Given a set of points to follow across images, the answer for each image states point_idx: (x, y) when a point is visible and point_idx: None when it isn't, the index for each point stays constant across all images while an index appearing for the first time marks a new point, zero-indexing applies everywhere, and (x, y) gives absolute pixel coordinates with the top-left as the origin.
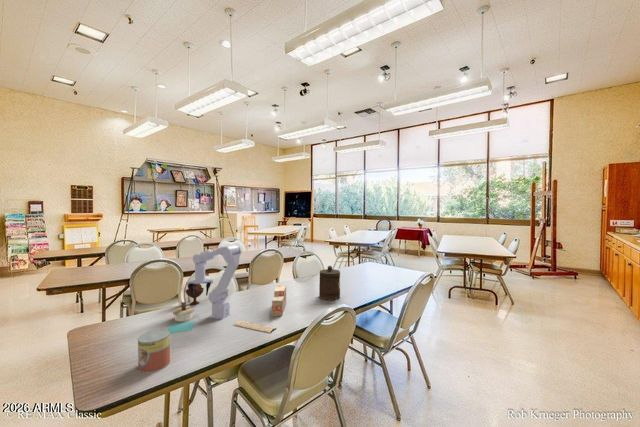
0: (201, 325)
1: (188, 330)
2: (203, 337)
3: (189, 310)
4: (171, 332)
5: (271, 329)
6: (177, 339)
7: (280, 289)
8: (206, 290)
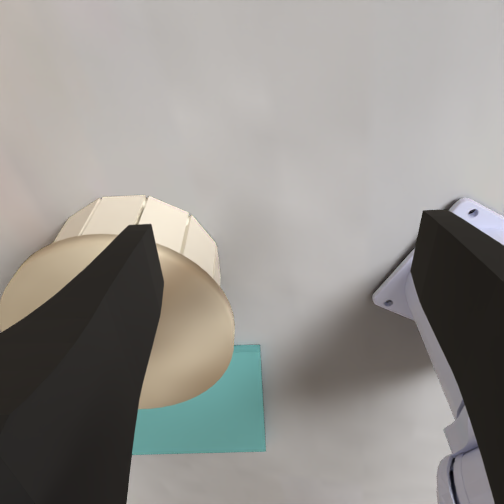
0: (318, 389)
1: (246, 447)
2: (339, 492)
3: (193, 367)
4: (149, 450)
5: None
6: (210, 488)
7: None
8: (459, 381)
